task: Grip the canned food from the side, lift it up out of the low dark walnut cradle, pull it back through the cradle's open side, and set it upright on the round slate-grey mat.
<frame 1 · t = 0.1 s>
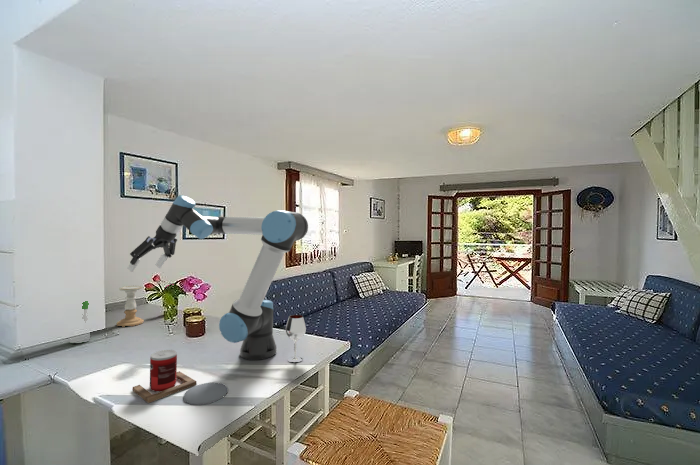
hand: (144, 268, 138), 36 cm above the table, tool tilted 35°, fingers open, 13 cm apart
walnut cradle: (163, 386, 108), on the table
slate mat: (206, 393, 104), on the table
canned food: (163, 386, 108), on the table
wineglass: (295, 360, 132), on the table
candle holder: (130, 324, 175), on the table
wine bottle: (80, 342, 147), on the table
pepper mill: (170, 314, 196), on the table
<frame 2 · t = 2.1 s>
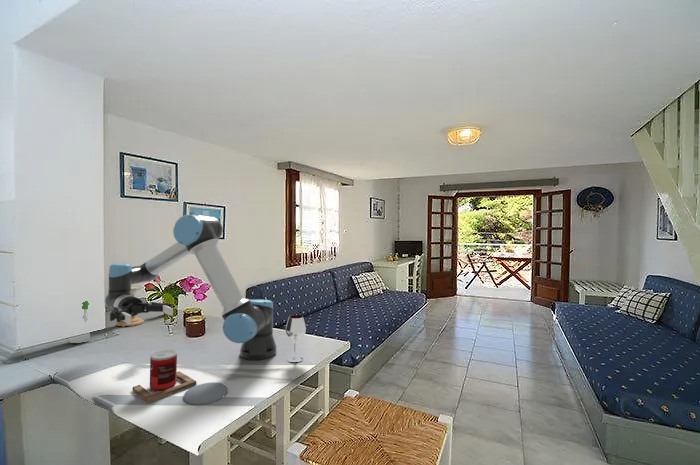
hand: (152, 315, 114), 22 cm above the table, tool horizontal, fingers open, 13 cm apart
nothing on the table moved.
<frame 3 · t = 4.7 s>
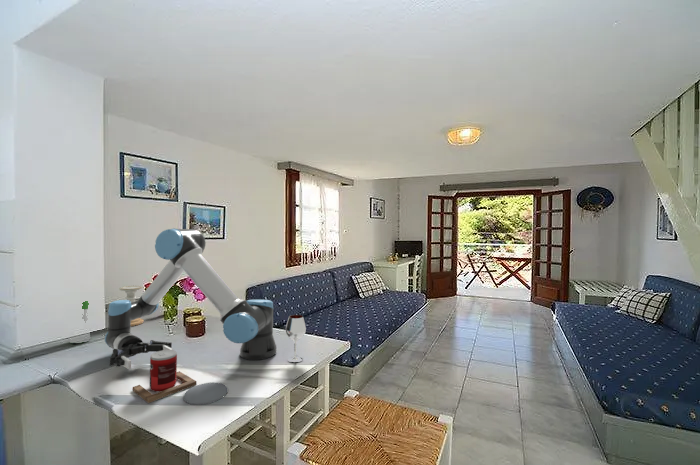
hand: (151, 358, 113), 7 cm above the table, tool horizontal, fingers open, 13 cm apart
nothing on the table moved.
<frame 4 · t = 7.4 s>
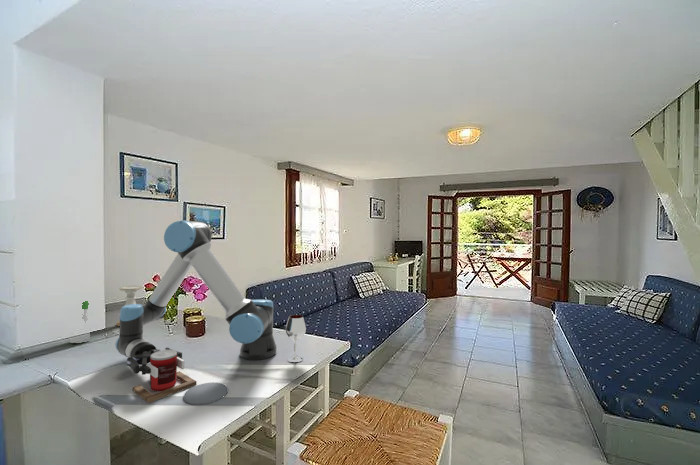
hand: (170, 368, 105), 7 cm above the table, tool horizontal, fingers closed on canned food, 8 cm apart
canned food: (163, 386, 108), on the table, touching gripper
everything else where it was.
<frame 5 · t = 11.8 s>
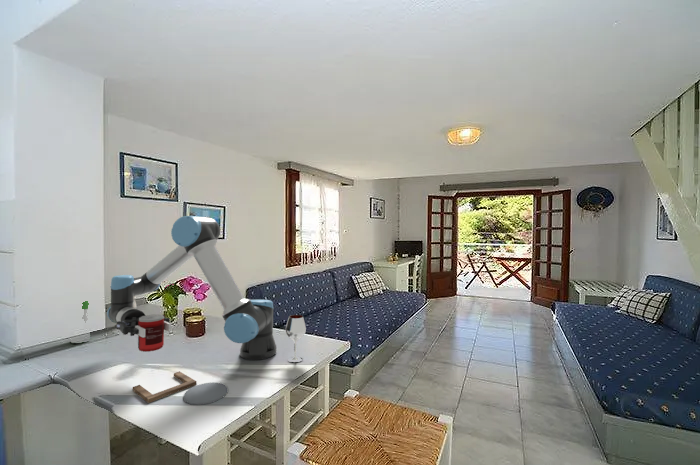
hand: (157, 330, 111), 18 cm above the table, tool horizontal, fingers closed on canned food, 8 cm apart
canned food: (151, 348, 114), point 10 cm above the table, touching gripper
everything else where it was.
when the fingers open (10 cm above the table, at t = 16.0 s): canned food drops 2 cm, resting on slate mat.
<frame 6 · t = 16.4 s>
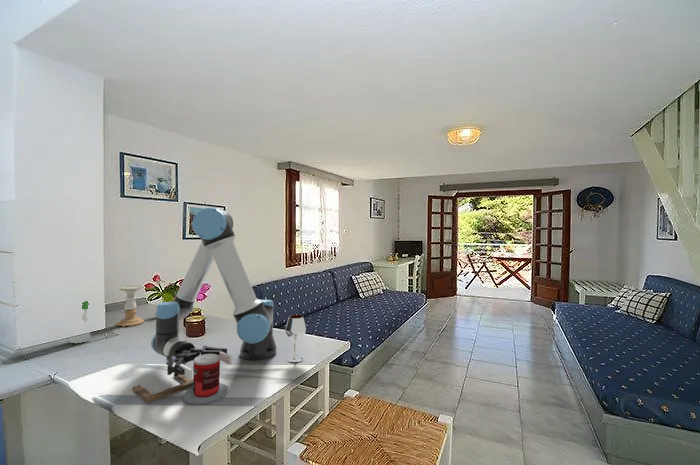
hand: (212, 367, 102), 10 cm above the table, tool horizontal, fingers open, 13 cm apart
canned food: (206, 392, 104), resting on slate mat
everything else where it was.
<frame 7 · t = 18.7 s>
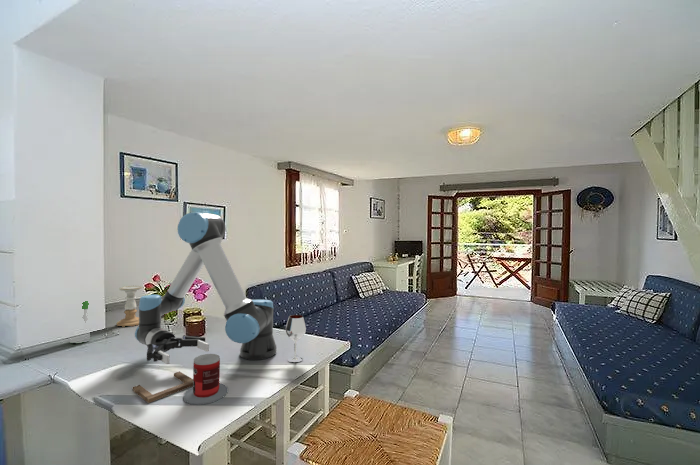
hand: (189, 353, 110), 11 cm above the table, tool horizontal, fingers open, 13 cm apart
nothing on the table moved.
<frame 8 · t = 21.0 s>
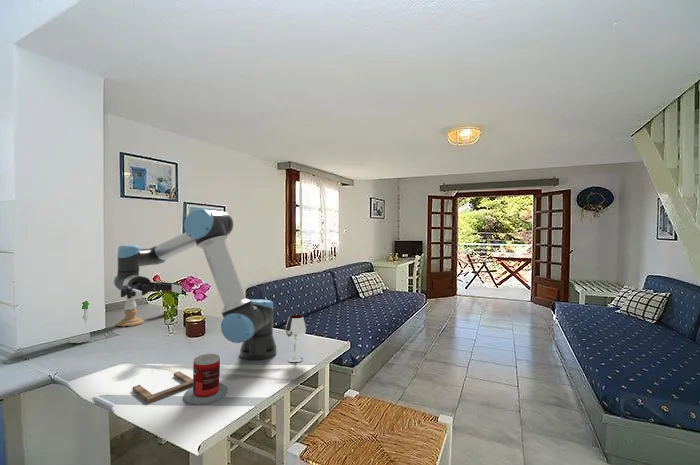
hand: (161, 292, 116), 30 cm above the table, tool horizontal, fingers open, 13 cm apart
nothing on the table moved.
at the end: canned food inside the target area on the slate mat (0.1 cm from its centre), point 0.4 cm above the slate mat's base; canned food tilted 0°; the gripper is holding nothing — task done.
